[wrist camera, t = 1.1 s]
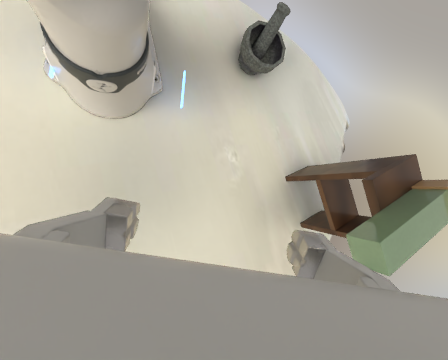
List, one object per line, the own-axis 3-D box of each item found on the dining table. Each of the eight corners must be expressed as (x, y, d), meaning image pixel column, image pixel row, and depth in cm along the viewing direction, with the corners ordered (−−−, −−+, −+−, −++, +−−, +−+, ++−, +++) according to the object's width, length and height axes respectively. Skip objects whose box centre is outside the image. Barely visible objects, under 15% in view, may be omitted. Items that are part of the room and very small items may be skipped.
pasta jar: (355, 267, 30) (398, 282, 25) (344, 232, 29) (386, 241, 24) (428, 208, 37) (472, 212, 32) (420, 180, 36) (464, 179, 32)
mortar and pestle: (262, 88, 53) (296, 63, 42) (228, 72, 50) (255, 39, 39) (271, 47, 54) (306, 11, 43) (238, 28, 51) (268, -16, 40)
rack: (290, 234, 55) (396, 266, 33) (272, 182, 54) (372, 179, 32) (322, 214, 60) (435, 231, 38) (307, 166, 58) (416, 153, 36)
